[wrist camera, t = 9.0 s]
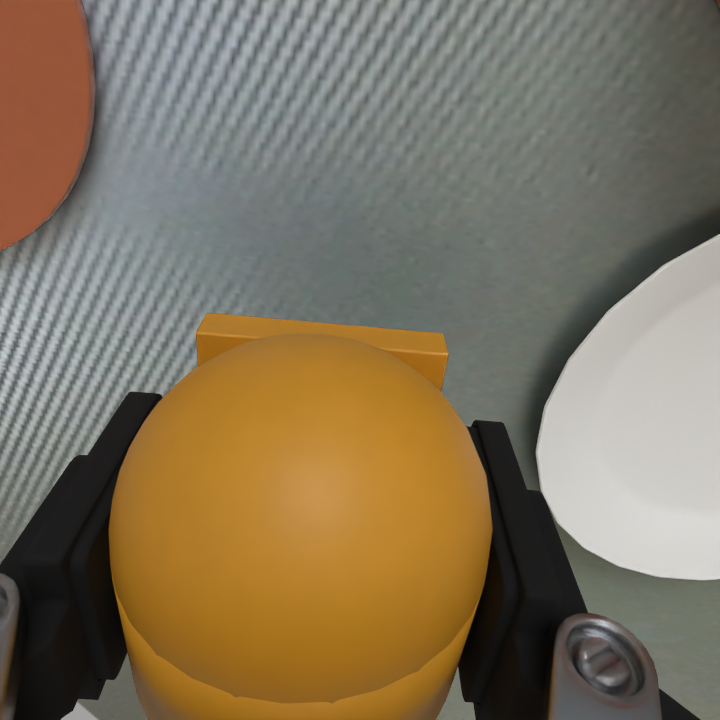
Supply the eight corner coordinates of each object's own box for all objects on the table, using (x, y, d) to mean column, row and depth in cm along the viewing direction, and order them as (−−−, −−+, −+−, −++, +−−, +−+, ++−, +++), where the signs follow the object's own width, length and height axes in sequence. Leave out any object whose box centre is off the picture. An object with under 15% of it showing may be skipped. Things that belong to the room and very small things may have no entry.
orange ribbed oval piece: (169, 256, 10) (-47, 504, 5) (486, 286, 10) (612, 552, 5) (195, 562, 14) (98, 866, 9) (419, 578, 14) (449, 884, 9)
